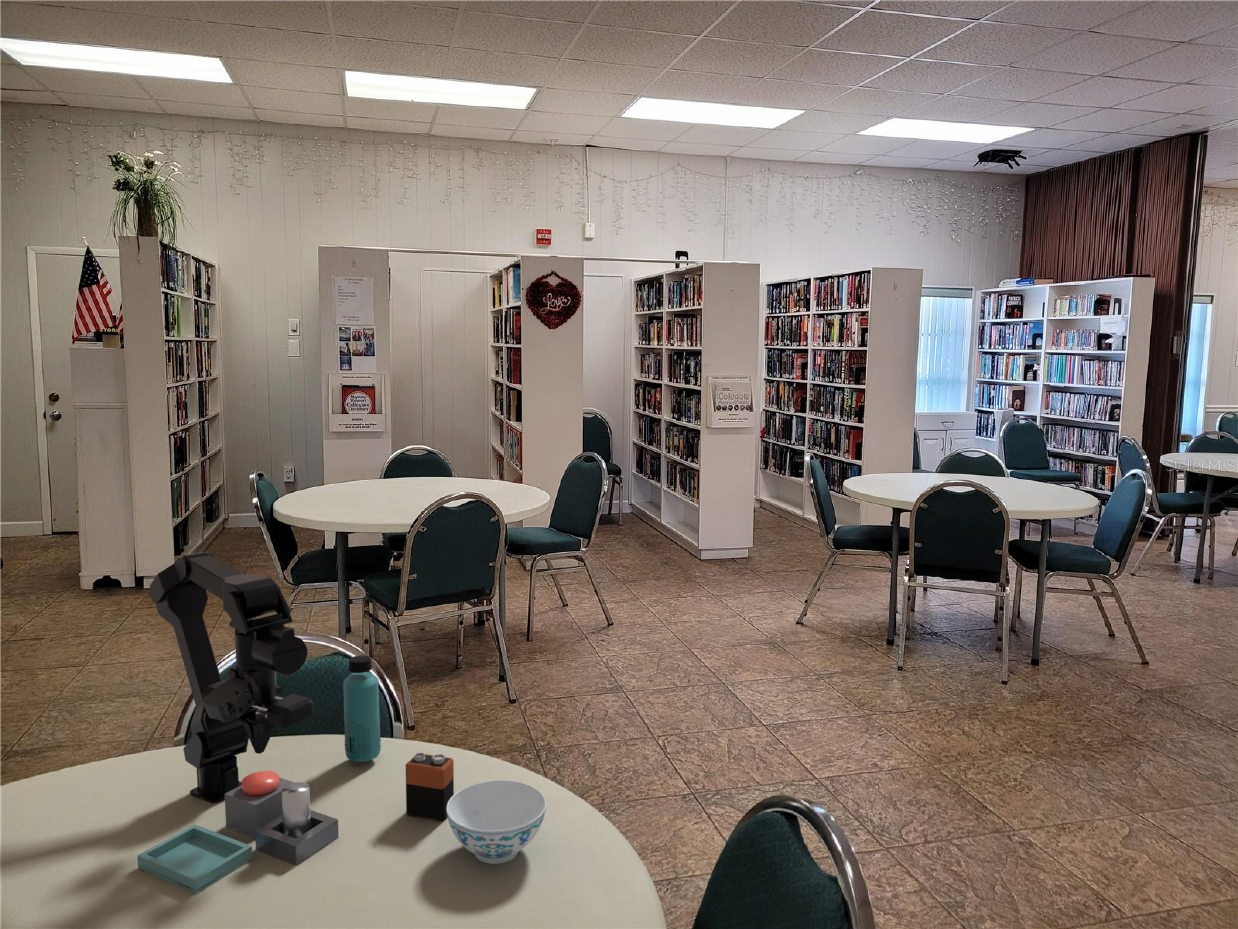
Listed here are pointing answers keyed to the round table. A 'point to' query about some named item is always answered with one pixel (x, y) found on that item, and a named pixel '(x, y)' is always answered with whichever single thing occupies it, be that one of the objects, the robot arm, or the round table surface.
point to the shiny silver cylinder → (296, 809)
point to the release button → (260, 783)
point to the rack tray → (195, 858)
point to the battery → (429, 785)
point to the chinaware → (496, 818)
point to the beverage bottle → (361, 711)
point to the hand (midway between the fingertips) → (259, 752)
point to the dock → (253, 808)
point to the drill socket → (302, 847)
